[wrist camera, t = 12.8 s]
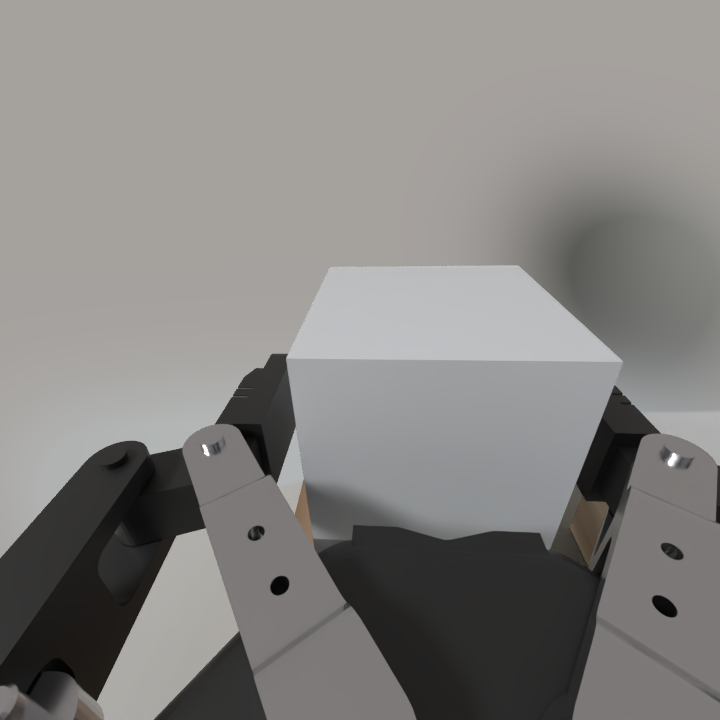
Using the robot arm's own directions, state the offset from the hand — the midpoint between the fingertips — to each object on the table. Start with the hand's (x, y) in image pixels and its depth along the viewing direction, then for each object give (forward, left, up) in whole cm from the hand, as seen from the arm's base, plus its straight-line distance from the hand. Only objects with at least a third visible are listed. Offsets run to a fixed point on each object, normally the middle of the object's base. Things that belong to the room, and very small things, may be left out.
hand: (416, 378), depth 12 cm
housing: (0, +2, -8) cm, 8 cm away
